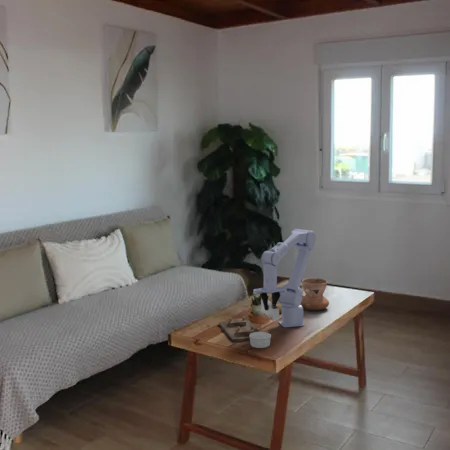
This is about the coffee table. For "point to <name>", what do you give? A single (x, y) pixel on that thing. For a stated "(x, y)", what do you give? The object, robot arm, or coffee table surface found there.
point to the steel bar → (270, 310)
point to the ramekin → (260, 339)
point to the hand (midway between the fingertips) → (269, 309)
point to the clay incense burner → (314, 294)
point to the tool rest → (238, 329)
